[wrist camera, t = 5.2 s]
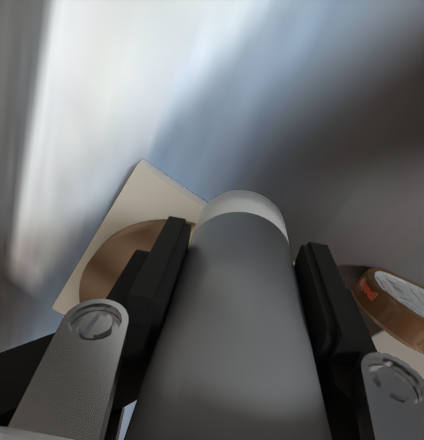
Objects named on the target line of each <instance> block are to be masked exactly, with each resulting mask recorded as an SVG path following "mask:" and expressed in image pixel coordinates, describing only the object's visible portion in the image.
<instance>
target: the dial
mask: <svg viewBox="0 0 424 440" xmlns="http://www.w3.org/2000/svg"><path fill="white" fill-rule="evenodd" d="M166 221H167V219H159V220H149V221H144V222H139V223H136V224H133V225H130V226H128V227H126V228H124V229H122V230H120V231H118V232H117V233H115V234H114V235H112V236H111V237H109V238H108V239H107V240H106V241H105V242H104V243H103V244H102V245H101V247H100V248H99V249H98V250H97V251H96V253H95V254H94V255H93V257H92V258H91V259H90V261H89V262H88V263H87V265H86V267H85V269H84V271H83V273H82V277H81V280H80V286H79V302H80V303H82V302H84V301H88V300H93V299H106V297H107V296H108V294H109V292H110V291H111V289H112V288H113V286H114V284H115V283H116V281H117V279H118V278H119V276H120V275H121V273H122V271H123V270H124V268H125V266H126V265H127V263H128V261H129V260H130V258H131V257H132V255H133V253H134V252H135V251H136V250H137V249H139V250H144V251H149V252H150V251H151V249H152V247H153V245H154V243H155V242H156V240H157V238H158V236H159V234H160V232H161V230H162V228H163V226H164V225H165V223H166ZM186 223H187V224H191V233H190V240H189V244H190V241H191V238H192V235H193V232H194V229H195V226H196V223H193V222H188V221H186Z"/></svg>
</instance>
